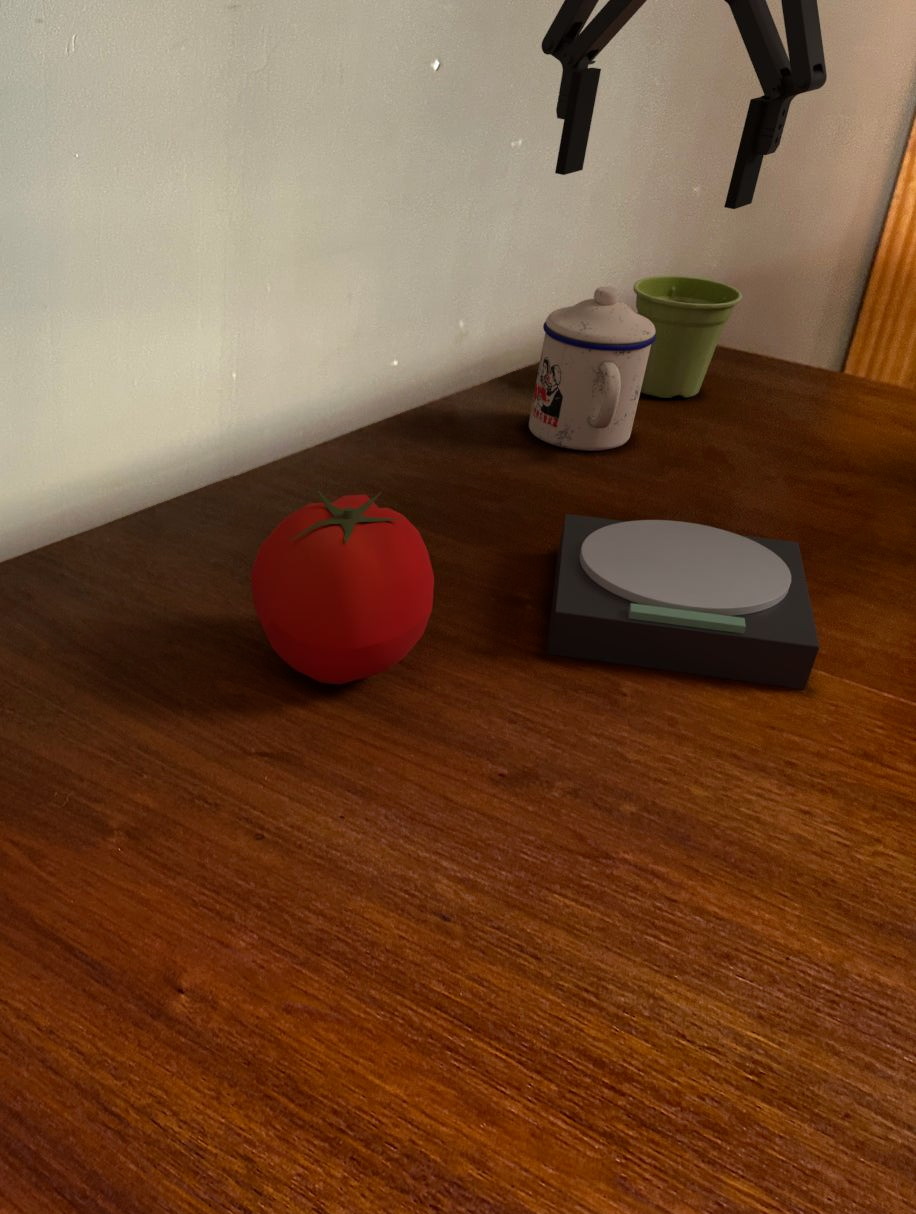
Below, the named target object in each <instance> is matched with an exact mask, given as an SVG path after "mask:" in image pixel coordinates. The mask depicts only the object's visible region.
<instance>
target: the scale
mask: <svg viewBox="0 0 916 1214" xmlns="http://www.w3.org/2000/svg"><path fill="white" fill-rule="evenodd" d="M556 554H557V555H556V564H555V573H554V582H553V591H552V599H551V610H550V617H549V628H548V634H547V635H548V636H547V647H546V654H547V655H551V656H552V655H553V656H560V657H564V658H565V657H566V658H574V659H580V660H581V659H582V660H588V661H595V662H601V663H609V664H616V665H624V666H631V667H638V668H645V669H646V668H647V669H652V670H661V671H667V672H675V673H680V674H687V675H689V674H690V675H695V676H696V675H697V676H703V677H710V678H718V679H725V680H732V681H740V682H747V683H754V684H759V685H769V686H776V687H781V688H782V687H783V688H789V689H798V690H806V687H807V685H808V682H809V678H810V676H811V673H812V670H813V668H814V665H815V663H816V659H817V656H818V653H819V650H820V643H819V638H818V632H817V628H816V623H815V618H814V613H813V608H812V604H811V599H810V594H809V589H808V584H807V579H806V574H805V569H804V564H803V559H802V555H801V554H802V553H801V549H800V544H799V542H798V541H791V540H783V539H775V538H766V537H758V536H750V535H743V534H738V533H735V532H732V531H728V530H725V529H722V528H718V527H714V526H709V525H705V524H699V523H693V522H687V521H679V520H667V519H640V520H630V521H629V520H628V521H627V520H620V519H613V518H612V519H611V518H603V517H595V516H588V515H587V516H586V515H580V514H579V515H578V514H571V513H565V515H564V519H563V524H562V530H561V534H560V539H559V544H558V548H557V553H556Z"/></svg>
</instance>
